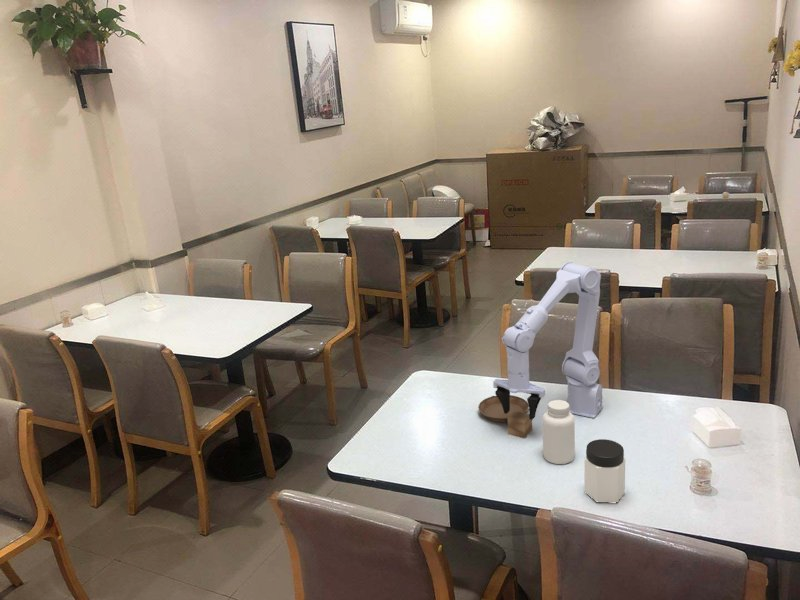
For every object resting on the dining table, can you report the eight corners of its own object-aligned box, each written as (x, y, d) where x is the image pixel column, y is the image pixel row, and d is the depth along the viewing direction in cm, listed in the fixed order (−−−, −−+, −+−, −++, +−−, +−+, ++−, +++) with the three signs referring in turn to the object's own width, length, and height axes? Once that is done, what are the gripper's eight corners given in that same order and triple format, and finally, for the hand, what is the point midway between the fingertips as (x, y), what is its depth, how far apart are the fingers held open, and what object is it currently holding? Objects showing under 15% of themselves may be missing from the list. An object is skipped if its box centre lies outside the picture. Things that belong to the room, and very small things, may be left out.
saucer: (472, 422, 184) (472, 414, 183) (486, 400, 197) (486, 392, 196) (522, 429, 178) (522, 420, 177) (533, 405, 191) (533, 397, 190)
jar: (595, 478, 153) (595, 434, 149) (628, 489, 147) (630, 444, 144) (579, 497, 146) (579, 451, 143) (613, 509, 141) (614, 462, 138)
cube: (532, 430, 177) (531, 414, 175) (524, 438, 173) (524, 422, 172) (515, 426, 180) (515, 410, 178) (508, 434, 176) (507, 418, 174)
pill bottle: (575, 450, 165) (575, 398, 161) (573, 466, 158) (573, 413, 154) (544, 447, 168) (544, 396, 163) (541, 463, 161) (540, 410, 156)
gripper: (487, 371, 172) (489, 415, 176) (537, 380, 163) (538, 427, 167) (499, 361, 177) (500, 405, 181) (548, 370, 169) (548, 415, 173)
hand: (519, 415), depth 175 cm, fingers open, 7 cm apart
